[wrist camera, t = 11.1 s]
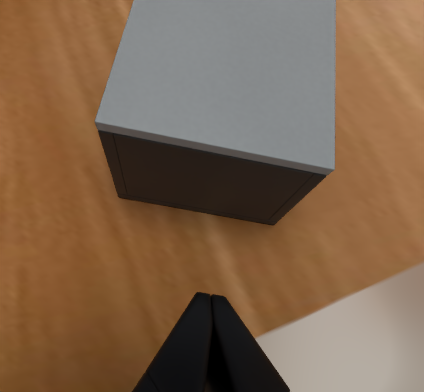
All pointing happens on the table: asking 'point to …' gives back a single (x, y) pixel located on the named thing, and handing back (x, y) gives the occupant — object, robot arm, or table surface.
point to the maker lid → (228, 79)
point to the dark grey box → (204, 179)
